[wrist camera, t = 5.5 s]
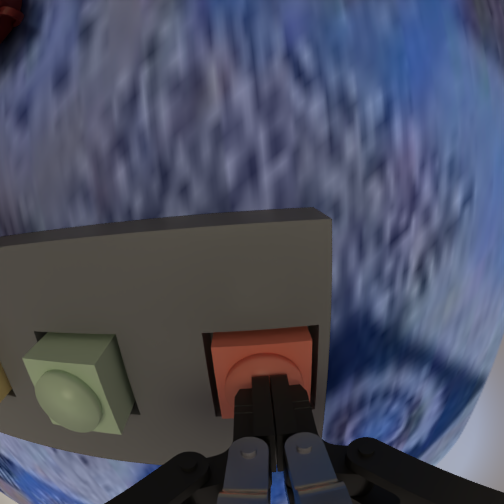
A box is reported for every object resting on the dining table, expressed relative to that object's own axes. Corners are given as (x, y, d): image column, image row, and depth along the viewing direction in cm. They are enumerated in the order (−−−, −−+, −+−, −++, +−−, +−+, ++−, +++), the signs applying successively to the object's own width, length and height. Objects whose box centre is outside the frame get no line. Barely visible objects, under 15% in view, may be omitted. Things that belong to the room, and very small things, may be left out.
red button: (224, 382, 17) (221, 427, 14) (216, 316, 16) (209, 355, 12) (300, 376, 17) (311, 420, 14) (300, 309, 16) (315, 347, 12)
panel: (13, 405, 19) (-6, 430, 16) (-44, 243, 16) (-76, 257, 12) (309, 421, 19) (319, 459, 16) (313, 207, 16) (331, 219, 12)
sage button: (73, 391, 16) (48, 431, 12) (50, 329, 14) (15, 364, 11) (136, 397, 16) (118, 443, 12) (117, 331, 14) (88, 373, 11)
